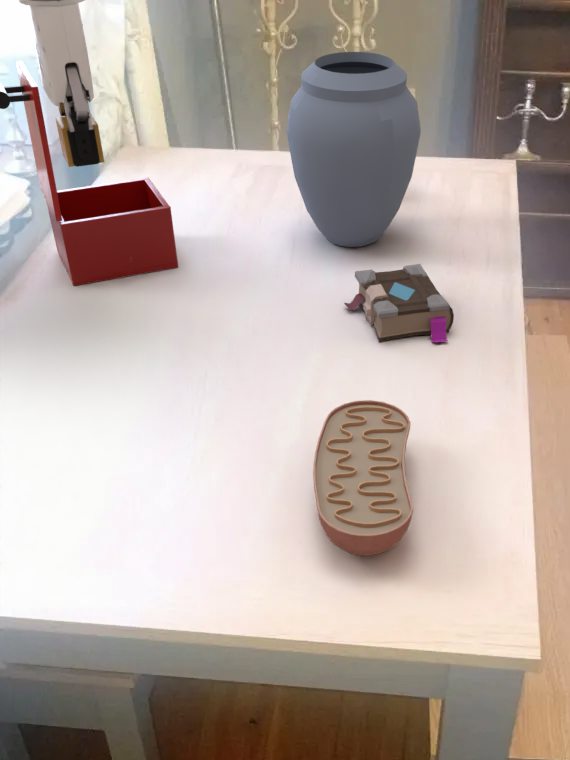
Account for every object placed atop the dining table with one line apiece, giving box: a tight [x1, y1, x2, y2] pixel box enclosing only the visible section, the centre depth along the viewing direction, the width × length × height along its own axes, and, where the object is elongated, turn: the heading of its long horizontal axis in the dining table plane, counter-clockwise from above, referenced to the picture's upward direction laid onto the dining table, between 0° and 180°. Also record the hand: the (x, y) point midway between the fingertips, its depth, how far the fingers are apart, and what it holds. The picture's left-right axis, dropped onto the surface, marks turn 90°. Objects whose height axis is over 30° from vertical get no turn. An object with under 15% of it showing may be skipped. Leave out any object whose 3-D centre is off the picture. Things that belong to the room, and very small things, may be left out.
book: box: [343, 263, 455, 343], centre depth 122 cm, size 20×12×5 cm, turn 14°
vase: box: [285, 51, 422, 248], centre depth 132 cm, size 20×20×24 cm
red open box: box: [45, 176, 179, 287], centre depth 132 cm, size 16×13×9 cm
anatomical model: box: [312, 399, 414, 556], centre depth 92 cm, size 23×10×5 cm, turn 178°
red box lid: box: [0, 60, 62, 221], centre depth 120 cm, size 16×13×5 cm
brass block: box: [55, 113, 105, 168], centre depth 111 cm, size 4×4×4 cm
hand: (82, 155), depth 112 cm, fingers closed on brass block, 4 cm apart
